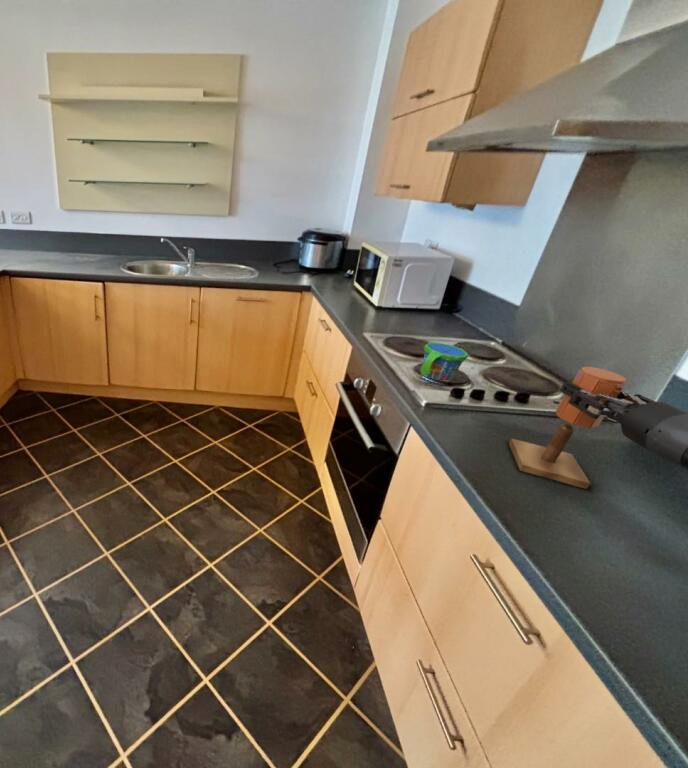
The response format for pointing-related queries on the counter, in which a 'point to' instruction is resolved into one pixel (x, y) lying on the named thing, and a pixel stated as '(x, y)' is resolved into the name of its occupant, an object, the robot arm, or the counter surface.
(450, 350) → the snack cup
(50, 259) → the counter surface
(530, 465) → the stand
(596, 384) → the terracotta cup
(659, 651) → the counter surface
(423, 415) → the counter surface
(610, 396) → the robot arm
